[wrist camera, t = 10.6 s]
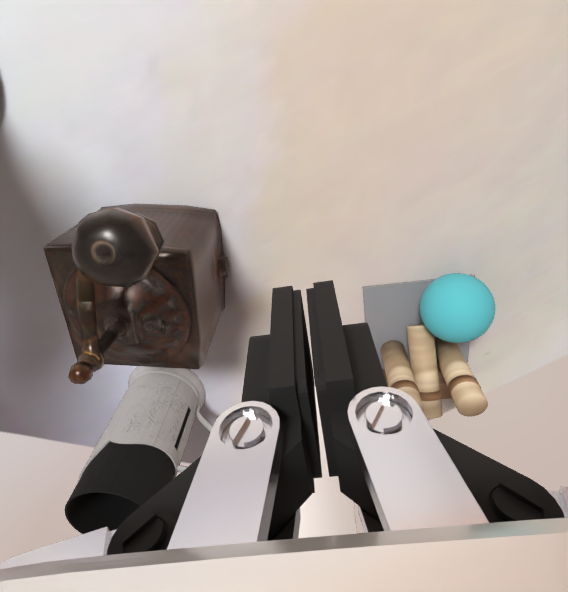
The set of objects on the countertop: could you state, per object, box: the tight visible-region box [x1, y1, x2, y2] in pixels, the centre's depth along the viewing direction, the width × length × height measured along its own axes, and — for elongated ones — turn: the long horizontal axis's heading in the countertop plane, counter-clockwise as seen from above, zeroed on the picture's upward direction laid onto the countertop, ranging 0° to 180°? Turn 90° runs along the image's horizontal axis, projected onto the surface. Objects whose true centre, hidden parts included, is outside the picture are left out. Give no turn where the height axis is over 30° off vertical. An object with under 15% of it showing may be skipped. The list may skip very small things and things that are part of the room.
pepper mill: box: [44, 204, 228, 384], centre depth 29 cm, size 16×11×18 cm
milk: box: [298, 386, 357, 538], centre depth 36 cm, size 6×6×22 cm
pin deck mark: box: [363, 275, 475, 369], centre depth 40 cm, size 10×10×1 cm
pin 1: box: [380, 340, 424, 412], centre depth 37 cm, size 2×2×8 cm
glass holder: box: [65, 366, 213, 534], centre depth 39 cm, size 9×14×15 cm, turn 83°
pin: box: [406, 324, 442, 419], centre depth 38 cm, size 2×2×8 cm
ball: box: [420, 273, 495, 343], centre depth 35 cm, size 6×6×6 cm
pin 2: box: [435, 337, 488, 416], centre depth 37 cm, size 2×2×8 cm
